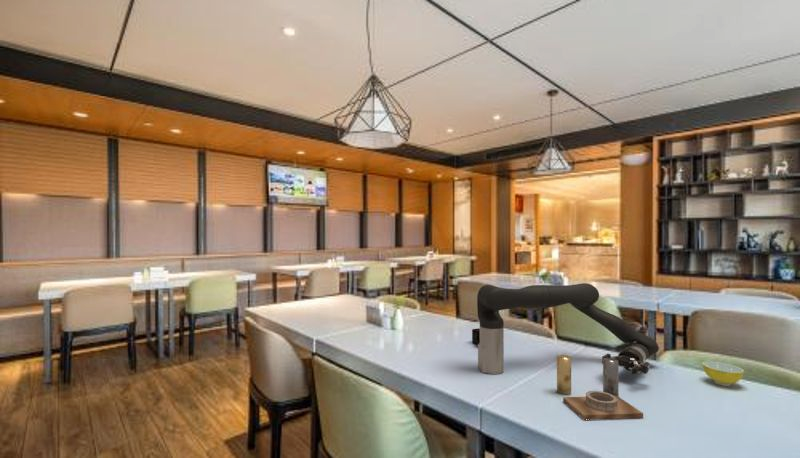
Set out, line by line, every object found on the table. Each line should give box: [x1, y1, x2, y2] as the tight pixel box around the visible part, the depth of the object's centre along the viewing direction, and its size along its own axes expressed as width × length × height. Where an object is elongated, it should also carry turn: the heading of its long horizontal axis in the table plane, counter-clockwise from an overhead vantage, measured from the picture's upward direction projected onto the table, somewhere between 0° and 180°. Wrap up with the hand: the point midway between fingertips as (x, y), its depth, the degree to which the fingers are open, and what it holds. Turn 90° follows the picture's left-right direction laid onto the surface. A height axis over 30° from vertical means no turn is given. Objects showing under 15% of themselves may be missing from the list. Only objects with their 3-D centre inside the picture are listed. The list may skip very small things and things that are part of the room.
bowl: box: [701, 361, 745, 387], centre depth 137 cm, size 11×12×6 cm
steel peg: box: [602, 358, 620, 397], centre depth 126 cm, size 4×4×12 cm
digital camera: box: [471, 327, 480, 347], centre depth 182 cm, size 10×5×7 cm, turn 24°
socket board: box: [562, 390, 644, 421], centre depth 116 cm, size 18×12×4 cm, turn 95°
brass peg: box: [556, 354, 572, 396], centre depth 129 cm, size 4×4×12 cm
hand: (619, 368), depth 133 cm, fingers open, 8 cm apart
